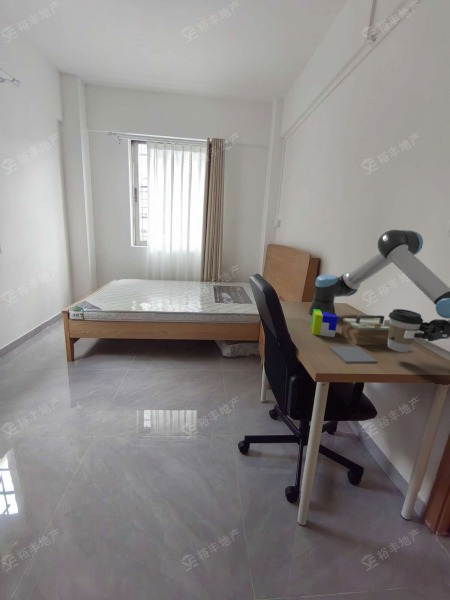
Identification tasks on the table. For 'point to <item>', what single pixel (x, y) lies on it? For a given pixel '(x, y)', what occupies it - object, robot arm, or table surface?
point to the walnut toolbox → (366, 330)
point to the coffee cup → (402, 328)
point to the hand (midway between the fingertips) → (393, 328)
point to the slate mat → (353, 355)
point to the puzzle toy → (324, 322)
